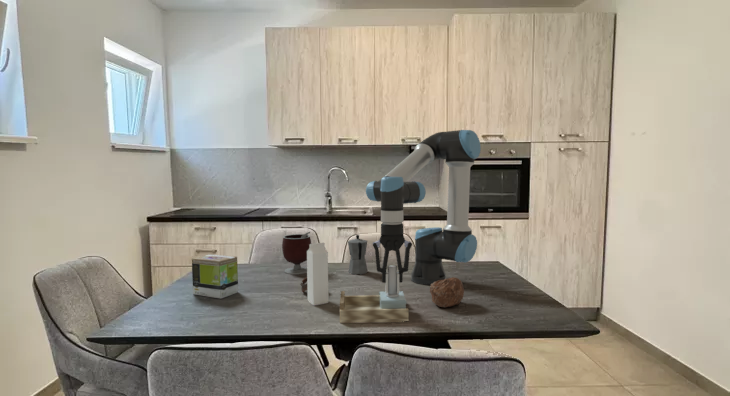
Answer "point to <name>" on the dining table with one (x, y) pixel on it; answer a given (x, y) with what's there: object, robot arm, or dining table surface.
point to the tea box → (215, 275)
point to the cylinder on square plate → (392, 292)
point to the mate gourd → (296, 251)
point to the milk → (317, 274)
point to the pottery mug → (304, 285)
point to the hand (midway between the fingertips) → (392, 291)
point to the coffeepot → (357, 256)
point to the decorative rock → (447, 292)
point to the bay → (368, 310)
